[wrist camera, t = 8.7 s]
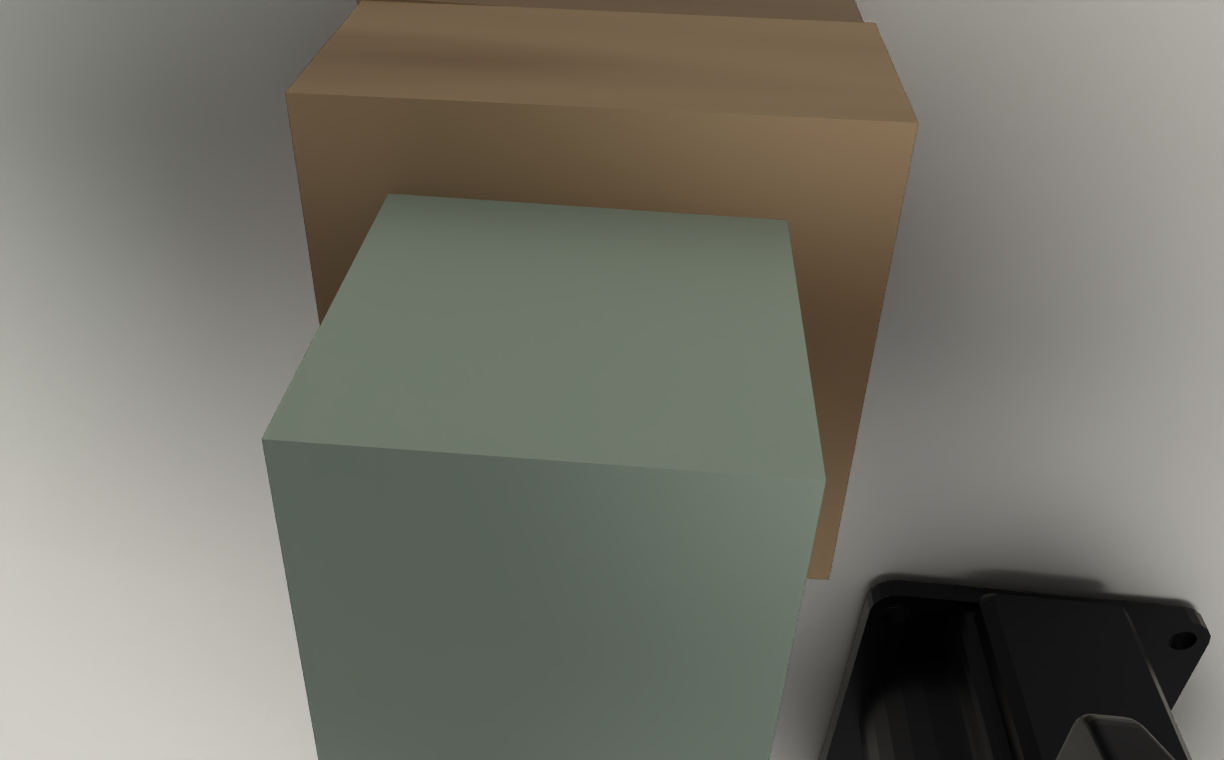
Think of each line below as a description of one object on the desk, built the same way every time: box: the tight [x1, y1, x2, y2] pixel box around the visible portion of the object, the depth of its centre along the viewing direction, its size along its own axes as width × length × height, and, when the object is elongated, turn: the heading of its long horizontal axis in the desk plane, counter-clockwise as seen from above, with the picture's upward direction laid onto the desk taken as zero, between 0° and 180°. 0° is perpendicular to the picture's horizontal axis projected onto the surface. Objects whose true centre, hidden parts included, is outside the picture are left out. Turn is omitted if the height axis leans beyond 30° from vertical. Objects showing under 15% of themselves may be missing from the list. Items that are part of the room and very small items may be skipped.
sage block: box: [262, 193, 826, 760], centre depth 11 cm, size 4×4×4 cm
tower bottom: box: [357, 0, 864, 23], centre depth 16 cm, size 6×6×3 cm
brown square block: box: [285, 0, 918, 580], centre depth 13 cm, size 6×6×3 cm
